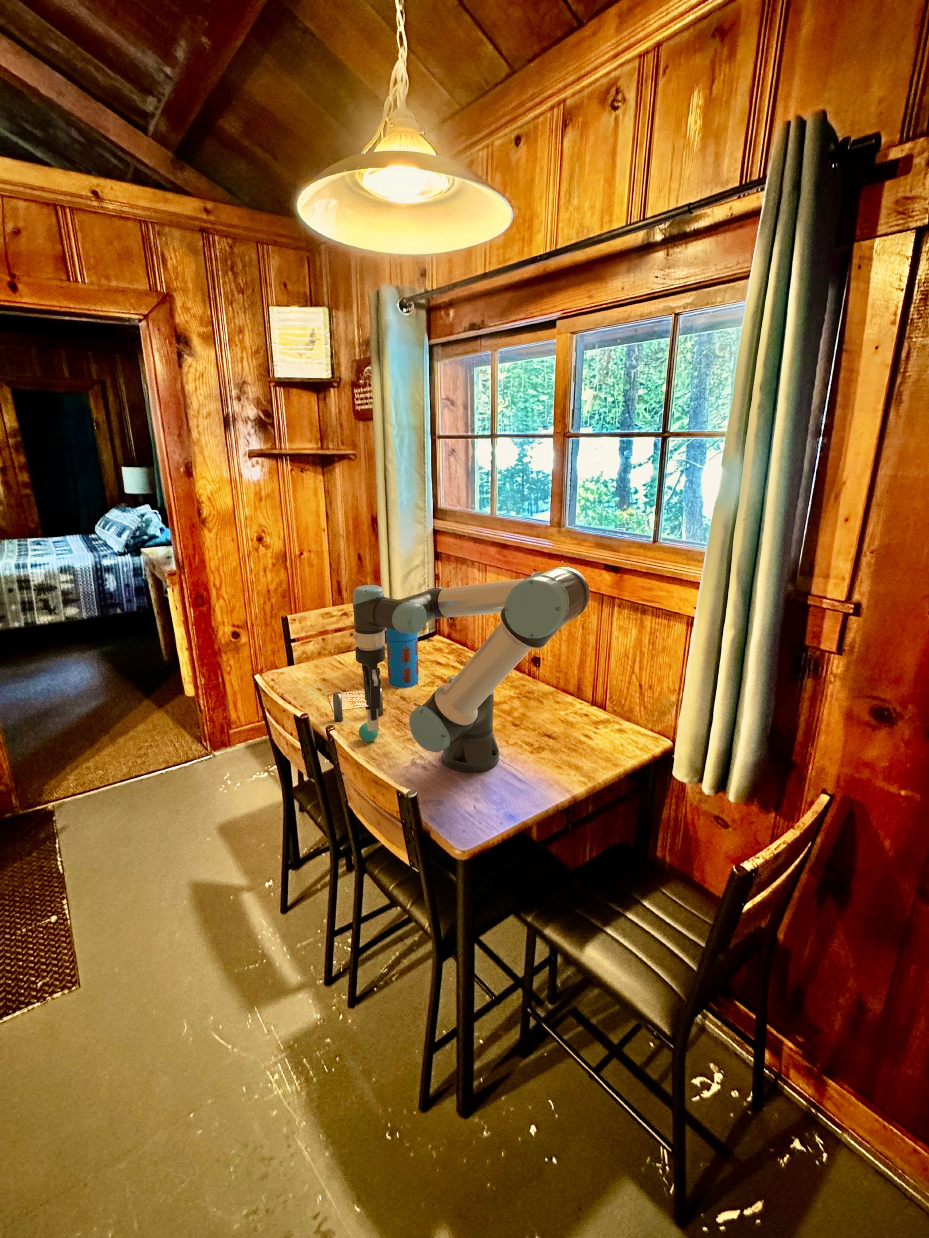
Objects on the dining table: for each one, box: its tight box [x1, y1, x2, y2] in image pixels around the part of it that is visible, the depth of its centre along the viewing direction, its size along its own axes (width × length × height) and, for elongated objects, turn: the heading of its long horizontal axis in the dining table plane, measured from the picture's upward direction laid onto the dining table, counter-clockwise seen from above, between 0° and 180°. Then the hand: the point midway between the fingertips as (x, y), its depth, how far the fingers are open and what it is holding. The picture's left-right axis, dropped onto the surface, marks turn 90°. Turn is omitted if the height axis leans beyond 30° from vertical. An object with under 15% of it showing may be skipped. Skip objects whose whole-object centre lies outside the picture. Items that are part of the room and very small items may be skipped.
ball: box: [358, 722, 379, 743], centre depth 163 cm, size 6×6×6 cm
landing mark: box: [328, 689, 368, 713], centre depth 191 cm, size 14×14×1 cm
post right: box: [378, 686, 384, 717], centre depth 179 cm, size 3×3×9 cm
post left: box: [331, 691, 344, 723], centre depth 175 cm, size 3×3×9 cm
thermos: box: [385, 628, 419, 689], centre depth 202 cm, size 11×11×25 cm
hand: (373, 729), depth 153 cm, fingers closed
